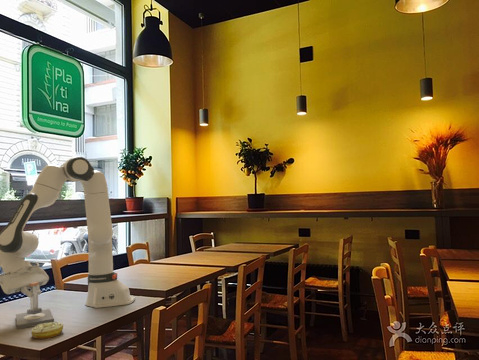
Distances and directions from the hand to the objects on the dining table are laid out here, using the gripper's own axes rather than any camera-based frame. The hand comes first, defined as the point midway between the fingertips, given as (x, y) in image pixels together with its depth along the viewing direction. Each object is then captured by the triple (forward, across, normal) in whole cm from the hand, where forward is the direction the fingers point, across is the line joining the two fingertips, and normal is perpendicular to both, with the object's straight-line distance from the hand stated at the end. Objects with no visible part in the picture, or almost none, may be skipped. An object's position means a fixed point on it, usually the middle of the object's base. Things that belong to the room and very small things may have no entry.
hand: (35, 295), depth 161 cm
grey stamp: (+5, 0, +6) cm, 8 cm away
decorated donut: (+22, -13, -6) cm, 26 cm away
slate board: (+7, 0, +8) cm, 10 cm away
